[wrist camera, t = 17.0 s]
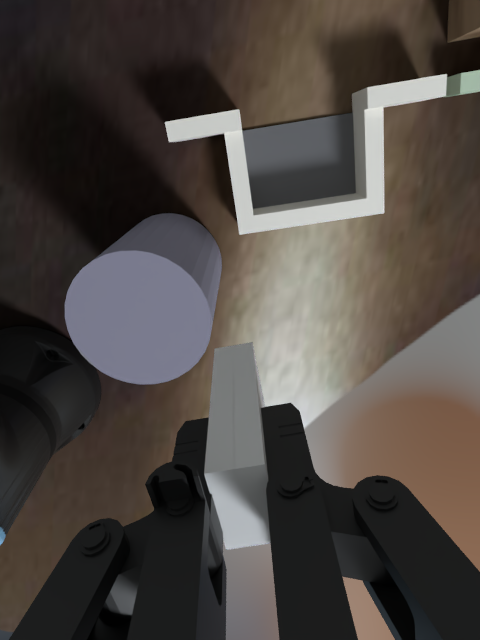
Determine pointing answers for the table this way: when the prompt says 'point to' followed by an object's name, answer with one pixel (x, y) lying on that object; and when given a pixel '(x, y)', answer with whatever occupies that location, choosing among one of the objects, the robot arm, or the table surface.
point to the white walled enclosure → (309, 159)
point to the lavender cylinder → (147, 301)
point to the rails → (463, 83)
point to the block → (463, 20)
